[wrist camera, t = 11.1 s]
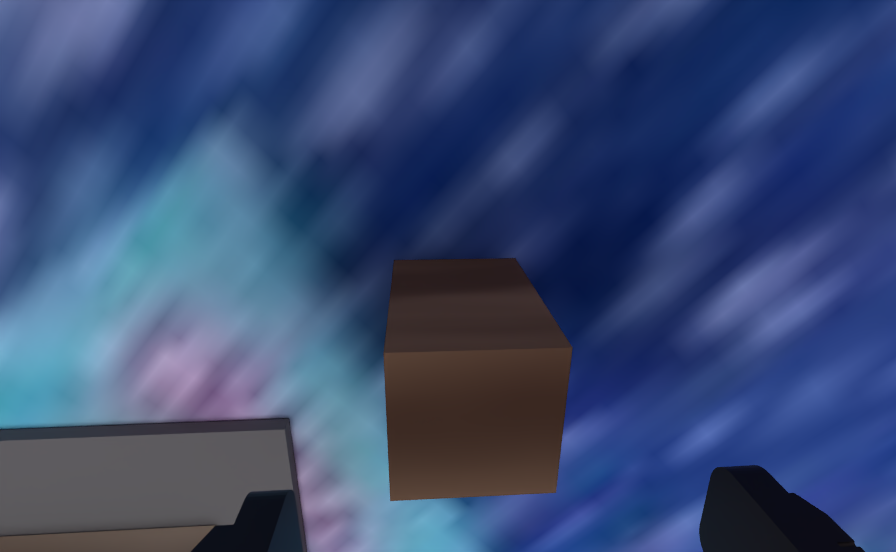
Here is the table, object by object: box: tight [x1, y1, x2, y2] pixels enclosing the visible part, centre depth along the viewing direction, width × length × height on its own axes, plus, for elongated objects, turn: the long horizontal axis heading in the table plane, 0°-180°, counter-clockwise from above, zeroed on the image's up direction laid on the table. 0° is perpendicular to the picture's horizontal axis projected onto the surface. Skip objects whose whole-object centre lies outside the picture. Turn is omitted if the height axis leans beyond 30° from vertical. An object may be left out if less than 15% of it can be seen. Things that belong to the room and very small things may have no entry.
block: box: [384, 258, 572, 501], centre depth 13 cm, size 4×4×6 cm
